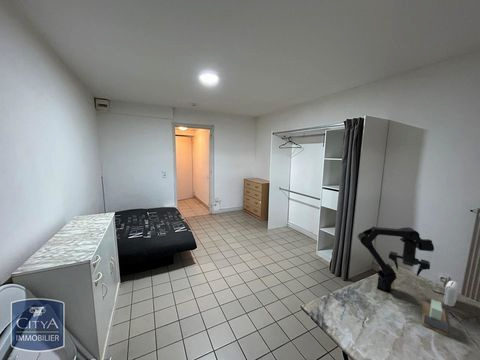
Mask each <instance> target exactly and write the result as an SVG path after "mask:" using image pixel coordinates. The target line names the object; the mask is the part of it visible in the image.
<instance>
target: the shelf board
mask: <svg viewBox="0 0 480 360" xmlns="http://www.w3.org/2000/svg"><path fill="white" fill-rule="evenodd" d="M430 305H431V303H428V302H426V301H423V300H422V301H421V325H422V326H423V327H425V328H427V329H430V330H432V331H434V332H436V333H439V334H441V335H442V336H443V335H444V336H445V337H449V329H447V333H446V332H444V331H441V330H439V329H437V328H434V327H432V326H430V325H427V324H425V323H424V316H425V315H427V316H429V312H430ZM441 321H442V322H444V323H447V324H448V322H447V315H446V310H445V309H444V308H442V317H441Z"/></svg>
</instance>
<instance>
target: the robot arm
mask: <svg viewBox="0 0 480 360" xmlns="http://www.w3.org/2000/svg"><path fill="white" fill-rule="evenodd" d="M379 235H380V236H389V237H390V236H391V237H400V239H399V240H400V241H401V242H402V243H403V249H402V255H399V254H398V252H394V251H392V250H391V251H389V253H388V259H390V260H391V261H392V262H394V264H395V268H396V271H398V270H399V260H402V264H403V265H407V266H410V267H414V266H418V267H417V271H416V277H419V275H420V274H421V272H422V271H423V270H425V271H426V270H430V268H431V262H430V261H429V260H426V259H419V258H416V253H417V249H418V250H419V251H421V252H423V251H424V252H434V250H435V246H434V243H433V240H431V239H429V238H427V239H425V238H421V236H420V233H419V232H418V231H417V230H415V228H412V227H400V228H394V227H393V228H391V227H378V226H372V227H370V228H368V229H365V230H364V231H363V232H360V233H358V234H357V239H358V240H359V242H360V243H361V244H362V245H363V247H365V248H366V249H367V250H368V252H369V253H370V255H371V256H372V257H373V259H374V260H375V262H376V263H377V264H378V267H379V269H380V270H377V272H376V274H377V276H378V278H377V284H376V285H377V286H376V289H377V290H380V291H382V292H385V293H388V294H390V293H391V291H392V285H393V283H394V282H395V280H396V279H397V273H396V271H395V270H394V268H393V267H392V266H391V265H390V264H389V263H386V262H385V261H384V260H383V258H382V257H381V256H380V253H378V251H377V249H376V248H375V247H374V244H373V241H374V240H375V239H376V238H377V237H378V236H379Z"/></svg>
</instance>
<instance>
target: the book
mask: <svg viewBox="0 0 480 360" xmlns="http://www.w3.org/2000/svg"><path fill="white" fill-rule="evenodd" d="M430 304H431V305H430V312H429V317H432V318H434V319H437V320H439V321H441V317H442V309H443V306H442V302H441V301H438V300H435V299H433V298H431V299H430Z"/></svg>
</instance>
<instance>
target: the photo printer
mask: <svg viewBox="0 0 480 360" xmlns="http://www.w3.org/2000/svg"><path fill="white" fill-rule="evenodd" d="M459 286H460V285H459V283H458V282H457V281H455V280H449V281H448V282H447V283H446V286H445V289H444V296H443V303H444V305H446V306H448V307H454V306H455V305H456V302H457V301H458V300H457V299H458V293H459Z"/></svg>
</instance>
